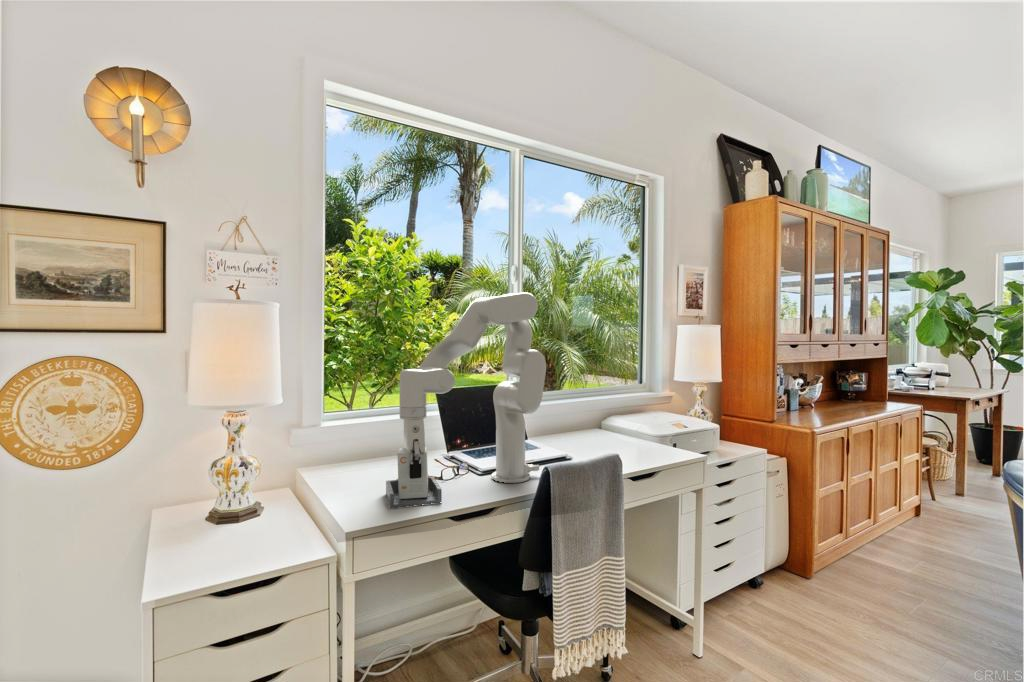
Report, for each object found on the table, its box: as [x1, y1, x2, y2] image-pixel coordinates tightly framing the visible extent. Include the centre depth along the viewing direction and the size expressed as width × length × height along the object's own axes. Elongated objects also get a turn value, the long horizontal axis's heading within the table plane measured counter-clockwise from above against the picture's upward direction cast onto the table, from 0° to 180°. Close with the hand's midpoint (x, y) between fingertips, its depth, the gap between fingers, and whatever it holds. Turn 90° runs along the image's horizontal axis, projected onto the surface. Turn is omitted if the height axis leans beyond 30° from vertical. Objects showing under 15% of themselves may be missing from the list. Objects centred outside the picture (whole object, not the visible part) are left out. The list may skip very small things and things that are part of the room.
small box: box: [397, 446, 429, 499], centre depth 145 cm, size 8×6×13 cm
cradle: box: [385, 476, 443, 509], centre depth 145 cm, size 14×13×4 cm
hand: (413, 473), depth 145 cm, fingers open, 7 cm apart
